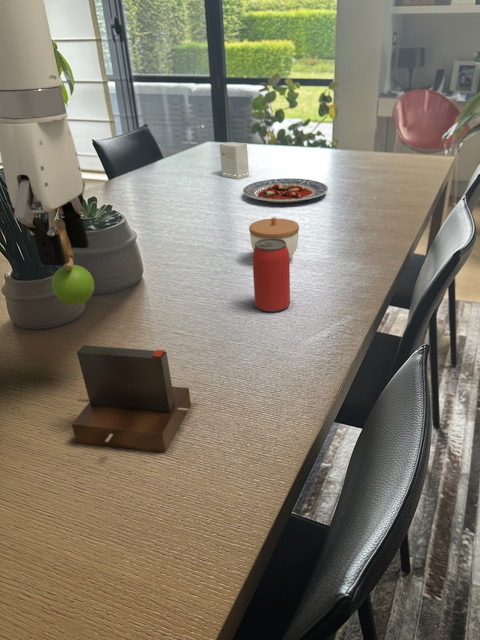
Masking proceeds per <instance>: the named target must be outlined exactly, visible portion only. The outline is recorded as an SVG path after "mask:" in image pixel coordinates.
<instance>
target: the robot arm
mask: <svg viewBox="0 0 480 640" xmlns="http://www.w3.org/2000/svg"><path fill="white" fill-rule="evenodd" d="M67 118H68V112H67V107H66V102H65V97H64V94H63V87H62V83H61V78H60V74H59V69H58V65H57V59H56V55H55V48H54V44H53V40H52V34H51V29H50V25H49V20H48V15H47V11H46V6H45V1H44V0H0V159H1V164H2V165H1V166H2V170H3V175H4V179H5V183H6V188H7V192H8V197H9V200H10V203H11V205H12V208H13V210H14V212H13V217H14V218H15V219H16V220H17V221H19V222H20V223H21V224H22V225H23V226H24V227H25V228H26V229H27V230H28V231H29V234H30V236H32V237H33V238H34V242H35V245H36V249H37V253H38V257H39V261H40V263H41V264H42V265H43V266H57V267H58V266H61V267H63V266H64V264H65V263H66V260H65V256H64V251H63V247H62V243H61V239H60V235H59V234H56V226H55V222H56V217H55V214H54V210H57V209H58V210H62V213H61V215H60V216H62V220H63V221H64V222H65V229H66V232H67V235H68V238H69V241H70V244H71V248H72V249H87V248H88V247H89V246H90V243H89V239H88V234H87V229H86V223H85V220H84V216H85V209H84V207H83V203H84V192H85V188H86V183H85V181H84V179H83V175H82V169H81V165H80V160H79V157H78V153H77V149H76V145H75V141H74V137H73V134H72V131H71V129H70V125H69V122H68V119H67ZM37 205H41V208H37ZM39 215H44V218H45V221H44V220H42V218H40V217H39ZM59 219H61V217H60V218H59Z"/></svg>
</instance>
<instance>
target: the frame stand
mask: <svg viewBox="0 0 480 640" xmlns="http://www.w3.org/2000/svg"><path fill="white" fill-rule="evenodd" d="M172 390H173V396H174V403H175V405H174V407H173V408H172V410H171V412H170V413H169V412H159V411H148V410H138V409H128V408H117V407H107V406H97V405H90V402H89V398H78V399H77V401H78V402H86V403H87V404H86V405H85V407H84V408H83V409H82V411H81V412H80V413H79V414H78V415H77V417H76V418H75V419H74V420H73V422H72V423H71V428H72V432H73V434H74V438H75V441H76V443H77V444H84V445H85V444H87V445H96V446H104V447H113V448H125V449H132V450H141V451H151V452H161V453H166V452H167V450H169V447H170V445H171V443H172V441H173V440H174V438H175V436H176V434H177V432H178V430H179V429H180V426H181V425H182V423H183V421H184V420H185V417H186V415H188V412H189V410H190V409H191V407H192V404H191V396H190V395H191V394H190V388H189V387H184V386H183V387H181V386H172Z"/></svg>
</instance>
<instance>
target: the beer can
mask: <svg viewBox="0 0 480 640" xmlns="http://www.w3.org/2000/svg"><path fill="white" fill-rule="evenodd" d="M251 258H252V276H253V292H254V293H253V295H254V304H255V306H256V308H257V309H259V310H261V311H264V312H269V313H270V312H273V313H275V312H280V311H283V310H285V309H287V308H288V307H289V306H290V304H291V276H290V275H291V274H290V272H291V269H290V258H289V251H288V248H287V246H286V242H285V241H284V240H282V239H277V238H266V239H261V240H259V241H257V242H256V243H255V248H254V251H253V250H252V257H251Z"/></svg>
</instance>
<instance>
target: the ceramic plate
mask: <svg viewBox="0 0 480 640" xmlns="http://www.w3.org/2000/svg"><path fill="white" fill-rule="evenodd" d="M262 188H264V189H262ZM260 189H261V190H260ZM258 190H259V191H258ZM256 191H257V192H256ZM328 191H329V186H328V185H326V184H325V183H323V182H321V181H317V180H312V179H307V178H273V179H271V178H270V179H266V180H259V181H256V182H252V183H250V184H248V185H246V186H245V187H243V189H242V192H243V194H244V195H245V196H246V197H248V198H251V199H255V200H259V201H264V202H267V203H272V204H293V203H302V202H305V201H308V200H311V199H315V198H319V197H321V196H323V195H325V194H326V193H328ZM255 192H256V194H255ZM256 195H257V196H256Z"/></svg>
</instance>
